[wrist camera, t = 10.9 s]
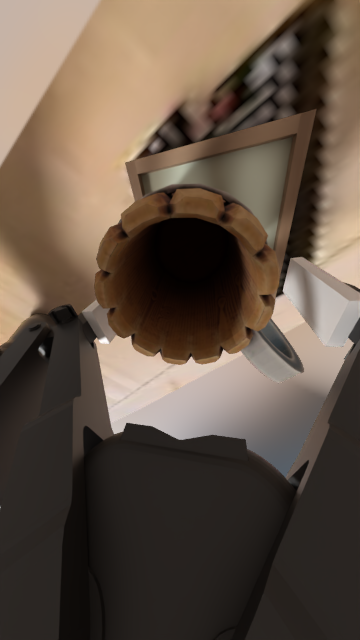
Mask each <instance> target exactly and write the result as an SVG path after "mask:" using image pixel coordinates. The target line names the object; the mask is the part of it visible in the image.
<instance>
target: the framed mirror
mask: <svg viewBox="0 0 360 640" xmlns="http://www.w3.org/2000/svg"><path fill="white" fill-rule="evenodd" d="M315 114H316V109H314V110H311V111H307V112H304V113H300V114H297V115H293V116H289V117H286V118H282V119H279V120H275V121H272V122H268V123H265V124H261V125H257V126H254V127H250V128H247V129H243V130H240V131H236V132H233V133H229V134H225V135H222V136H218V137H215V138H211V139H208V140H204V141H201V142H197V143H194V144H190V145H186V146H183V147H179V148H176V149H172V150H169V151H165V152H162V153H158V154H154V155H151V156H147V157H144V158H140V159H137V160H133V161H130V162H126V163H125V164H126V168H127V172H128V176H129V180H130V184H131V188H132V191H133V195H134V199H135V202H136V201H137V200H140V199H141V198H142V197H143V196H145V195H146V194H148V193H151V192H153V191H156V190H159V189H161V188H164V187H166V186H169V185H171V184H204V185H207V186H210V187H213V188H216V189H219V190H222V191H225V192H228V193H229V194H231V195H232V196H233V197H235V198H236V199H237V200H239V201H240V202H241V203H243V204H244V205H245V206H246V207H248V208H249V209H250V210H251V211H252V213H253V214H254V216H255V217H257V218H258V220H259V222H260V223H261V225H262V226H263V228H264V230H265V231H266V233H267V234H268V237H267V242H268V246H269V247H270V248H271V249H273V250H274V251H275V253H276V256H277V260H278V264H279V268H280V274H281V270H282V265H283V261H284V256H285V251H286V247H287V242H288V238H289V233H290V228H291V224H292V219H293V215H294V210H295V206H296V201H297V196H298V192H299V187H300V183H301V178H302V173H303V169H304V164H305V160H306V155H307V150H308V146H309V141H310V137H311V132H312V127H313V123H314V118H315ZM279 279H280V276H279ZM276 293H277V289H276V291H275V292H274V294H271V295H272V296H273V298H274V299H275V297H276Z"/></svg>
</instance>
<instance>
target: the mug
mask: <svg viewBox="0 0 360 640" xmlns="http://www.w3.org/2000/svg"><path fill="white" fill-rule="evenodd" d="M267 237H268V234H267V233H266V231H265V230H264V228H263V226H262V225H261V223H260V222H259V220H258V218H257V217H255V216H254V214H253V213H252V211H251V210H250V209H249V208H248V207H246V206H245V205H244V204H243V203H241V202H240V201H239V200H237V199H236V198H235V197H233V196H232V195H231V194H229V193H228V192H225V191H222V190H219V189H216V188H213V187H210V186H207V185H204V184H171V185H169V186H166V187H164V188H161V189H159V190H156V191H153V192H151V193H148V194H146V195H145V196H143V197H142V198H141V199H140V200H137V201H136V202H134V203H133V204H132V205H131V206H130V207H129V208H128V209H126V210H125V211H124V212H123V213H122V214H121V220H120V221H119V223H118V224H117V225H114V226H112V227H110V228H109V230H108V231H107V233H106V234H105V236H104V238H103V239H102V241H101V242H100V246H99V250H98V254H97V258H96V259H97V263H98V266H99V268H100V269H101V270H100V271H99V272H97V273H96V276H95V285H94V288H95V294H96V298H97V302H98V303H99V304H100V305H101V307H102V308H103V309H108V308H110V309H109V311H108V313H107V318H108V324H109V326H110V327H111V328H112V330H113V331H114V332H115V333H116V334H117V335H118V336H120V337H122V338H126V337H129V336H131V339H132V345H133V347H134V349H135V350H136V351H138V352H140V353H142V354H144V355H146V356H155V355H156V354H157V353H158V352H160V354H161V356H162V359H163V360H164V361H165V362H167V363H171V364H178V365H182V364H185V363H187V361H188V360H189V359H190V357H191V356H192V358H193V359H194V361H195V362H196V363H199V364H207V363H212V362H216V361H217V360H218V359H219V358H220V356H221V354H222V351H223V349H224V350H225V351H226V352H228V353H229V354H233V353H237V352H239V351H241V352H242V353H243V354H244V355H245V357H246V358H247V359H248V360H249V361H250V363H251V364H252V365H253V366H254V367H255V368H256V369H257V370H258V371H260V372H261V373H262V374H263V375H264V376H266V377H267V378H269V379H270V380H272V381H274V382H276V383H281V382H283V381H285V380H288V379H290V378H292V377H294V376H296V375H298V374H300V373H303V372H304V368H303V365H302V362H301V360H300V358H299V357H298V355H297V354H296V352H295V350H294V349H293V347H292V346H291V344H290V343H289V342H288V340H287V339H286V337H285V336H284V335H283V333H282V332H281V331H280V329H279V328H278V327H277V325H276V324H275V323H274V322H273V320H272V319H271V316H272V314H273V310H274V305H275V299H274V298H273V296H272V295H271V294H274V292H275V291H276V289H277V288H278V286H279V276H280V268H279V264H278V260H277V256H276V253H275V251H274V250H273V249H271V248H270V247H269V246H268V242H267Z"/></svg>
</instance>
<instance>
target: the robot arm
mask: <svg viewBox="0 0 360 640" xmlns="http://www.w3.org/2000/svg"><path fill="white" fill-rule="evenodd" d="M283 292H284V293H285V295H286V296H287V297H288V299H289V300H290V301H291V303H292V304H293V305H294V306H295V308H296V309H297V310H298V312H299V313H300V314H301V315H302V317H303V318H304V319H305V321H306V322H307V323H308V324H309V326H310V327H311V328H312V330H313V331H314V332H315V334H316V335H317V336H318V338H320V340H321V341H322V343H323V344H324V345H325V346H326V347H343V346H344V344H345V343H346V341H347V339H348V338H349V339H350V340H351V341H352V342H354V344H353V346H352V347H351V349H350V350H349V352H348V354H347V355H346V356H345V358H344V359H345V361H344V363H343V365H342V367H341V369H340V371H339V373H338V375H337V377H336V380H335V381H334V384H333V386H332V388H331V390H330V392H329V394H328V396H327V398H326V400H325V402H324V404H323V406H322V408H321V410H320V412H319V414H318V416H317V418H316V420H315V422H314V424H313V426H312V429H311V431H310V433H309V435H308V437H307V439H306V441H305V443H304V445H303V447H302V449H301V451H300V453H299V455H298V457H297V459H296V461H295V462H294V463H293V465H292V467H291V469H290V470H289V472H288V474H287V476H286V478H285V477H284V476H283V475H282V474H281V473H280V472H279V471H278V470H277V469H276V468H275V467H274V466H272V464H270V463H269V462H268V461H266V460H265V459H264V458H262V457H261V456H259V455H257V454H256V453H254V452H252V451H250V450H248V449H247V446H246V440H245V439H238V438H230V437H224V436H217V435H209V436H203V437H197V438H191V439H185V440H178V439H176V438H174V437H172V436H170V435H168V434H166V433H164V432H162V431H160V430H158V429H156V428H154V427H152V426H145V425H138V424H131V423H126V426H125V429H124V431H123V432H120V433H117V434H114V433H113V431H112V428H111V424H110V418H109V413H108V407H107V402H106V396H105V391H104V386H103V380H102V375H101V369H100V364H99V358H98V353H97V347H96V344H95V342H94V340H95V339H96V337H97V338H98V340H99V342H100V343H106V344H110V342H111V341H112V340H113V338H114V337H115V336H116V333H115V332H114V331H113V330H112V328H111V327H110V326H109V324H108V318H107V313H108V311H109V309H110V308H108V309H103V308H102V307H101V305H100V304H99V303H98V302H97V299H96V300H95V301H94V302H93V303H91V304H90V305H89V306H88V307H87V308H85V309H84V310H83V311H82V313H81V314H80V315H77V314H76V312H75V311H74V309H73V307H72V306H71V305H69V304H68V305H62V306H59V307H57V308H55V309H53V310H52V311H50V312H49V313H48V314H49V315H50V316H49V315H45V314H35V315H32V316H31V317H29V318H28V319H26V320H25V321H23V322H22V324H21V325H20V326H19V327H18V329H17V330H16V331H15V332H14V334H13V335H12V336H11V337H10V339H9V340H8V341H7V342H6V343H4V344H3V345H1V346H0V506H1V508H0V640H360V289H358V288H357V287H355V286H353V285H350V284H347V283H344V282H341V281H340V280H338V279H337V278H335V277H333V276H332V275H330V274H329V273H327V272H325V271H324V270H322V269H321V268H319V267H317V266H316V265H314V264H312V263H311V262H309V261H308V260H306V259H304V258H303V257H298V258H290V263H289V267H288V271H287V275H286V279H285V283H284V288H283Z"/></svg>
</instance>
